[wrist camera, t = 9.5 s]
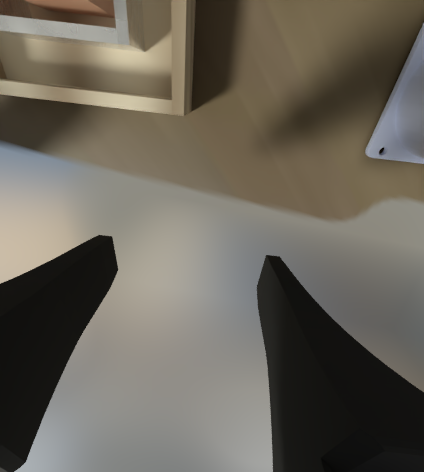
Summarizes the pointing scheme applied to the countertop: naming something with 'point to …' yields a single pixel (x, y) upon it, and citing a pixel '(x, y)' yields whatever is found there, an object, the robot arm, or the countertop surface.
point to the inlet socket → (77, 26)
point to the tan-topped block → (78, 6)
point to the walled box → (107, 63)
